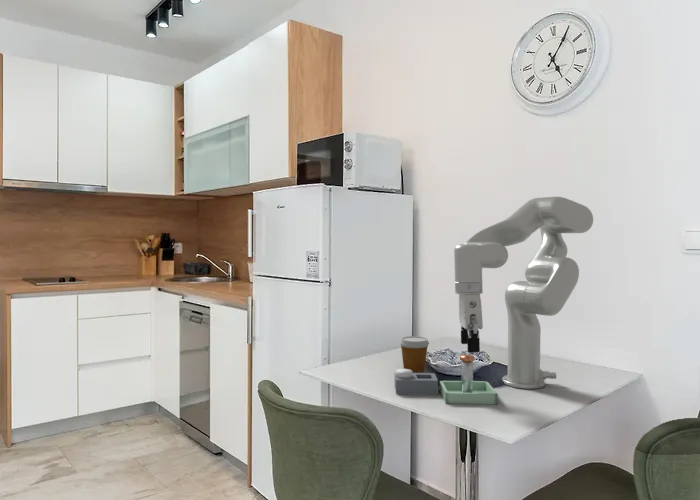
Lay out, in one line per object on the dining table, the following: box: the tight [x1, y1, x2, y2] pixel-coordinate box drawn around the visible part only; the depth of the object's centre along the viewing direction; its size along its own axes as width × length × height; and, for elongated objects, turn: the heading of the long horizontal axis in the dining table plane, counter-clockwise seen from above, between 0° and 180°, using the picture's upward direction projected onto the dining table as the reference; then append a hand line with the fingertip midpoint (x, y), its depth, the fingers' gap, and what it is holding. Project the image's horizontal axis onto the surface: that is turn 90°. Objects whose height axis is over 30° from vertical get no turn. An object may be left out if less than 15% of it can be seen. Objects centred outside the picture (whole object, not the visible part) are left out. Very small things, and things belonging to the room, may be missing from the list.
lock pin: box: [459, 354, 475, 393], centre depth 145 cm, size 4×4×11 cm
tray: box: [438, 380, 499, 405], centre depth 145 cm, size 14×12×3 cm
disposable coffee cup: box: [399, 335, 430, 373], centre depth 167 cm, size 10×10×12 cm
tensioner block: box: [394, 368, 439, 395], centre depth 152 cm, size 12×8×6 cm, turn 88°
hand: (470, 347), depth 145 cm, fingers open, 9 cm apart
